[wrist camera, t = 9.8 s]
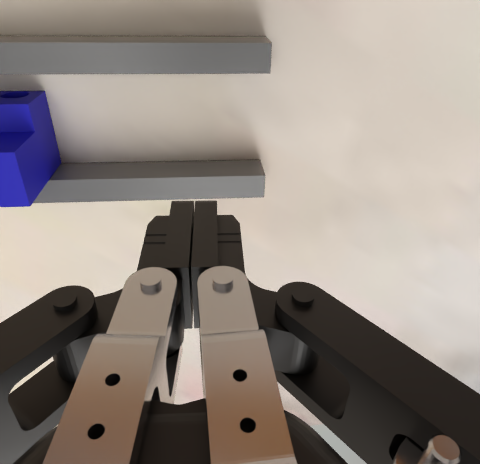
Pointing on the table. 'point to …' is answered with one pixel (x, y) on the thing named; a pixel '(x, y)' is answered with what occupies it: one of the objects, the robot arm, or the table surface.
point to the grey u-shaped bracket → (143, 62)
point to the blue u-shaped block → (25, 147)
